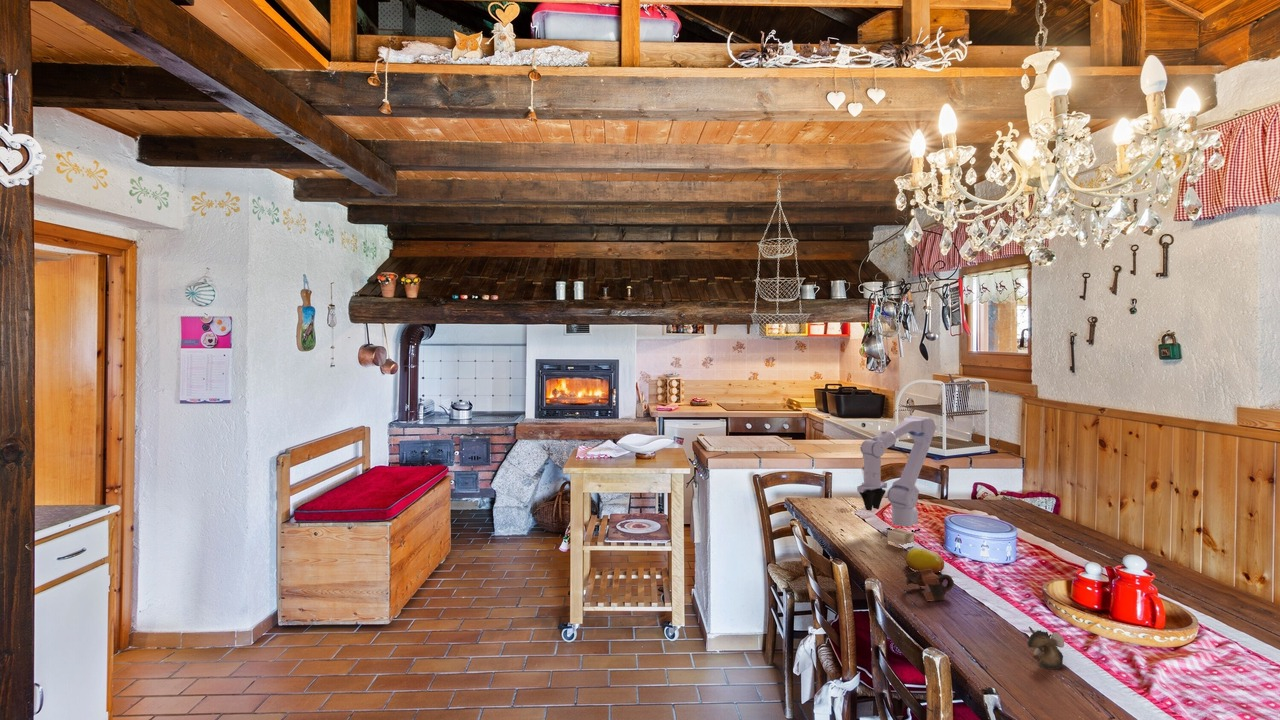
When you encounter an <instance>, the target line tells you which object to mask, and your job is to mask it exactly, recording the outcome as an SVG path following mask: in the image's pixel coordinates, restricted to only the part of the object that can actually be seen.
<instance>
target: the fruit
mask: <svg viewBox="0 0 1280 720" xmlns="http://www.w3.org/2000/svg"><path fill="white" fill-rule="evenodd" d="M905 563H906V565H908V566H909V567H910V568H912V569H914V570H918V571H921V570H926V569H932V571H933V573H937V574H939V573H938V572H939V571H941V572H942V571H943V570H944V568H945V561H944V559H943V557H942V555H940V554H939V553H938V552H936V551H934V550H930V549H927V548H921V547H919V548H916V547H915V548H912V549H910V550H909V551H908V552H907V554H906V557H905ZM908 566H907V567H908Z"/></svg>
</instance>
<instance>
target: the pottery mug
mask: <svg viewBox="0 0 1280 720" xmlns="http://www.w3.org/2000/svg"><path fill="white" fill-rule="evenodd" d="M905 578H906V580H905V583H906V585H907V586H909V585H910V584H912V585H917V586H918V585H919V586H926V585H927V586H928V588H929V589H930V591H929V592H924V593H923V597H924V598H925V600H926V599H927V600H932V601H931V602H934V601H935V602H936V601H939V600H940V601H944V600H945V594H947V592H949V591H951V590H952V589H953V587H954V583H955V581H954V580H953V577H952V576H950V575H949V574H946V573H945V574H934V573H933V571H932V569H926V570H921V571H916V572H912V571H911V572H909V573H907V574H905ZM944 581H947V583H946V586H944V585H943V583H944ZM919 586H918V587H919ZM927 586H926V587H927ZM943 599H944V600H943Z"/></svg>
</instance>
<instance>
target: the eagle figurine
mask: <svg viewBox="0 0 1280 720" xmlns="http://www.w3.org/2000/svg"><path fill="white" fill-rule="evenodd" d="M1028 629H1029V630H1030V632H1031V633H1032V634H1030V636H1029V638H1028V641H1027V646H1028V647H1027V648H1034V651H1033V654H1032V656H1038V655H1039V654H1042V653H1043V654H1042V656H1041V658H1040V659H1039V661H1038V662H1037V664H1038V665H1039V666H1040V667H1042V668H1043V669H1045V670H1052V671H1053V670H1059V669H1061V668H1062V667H1063V661H1064V660H1063V659H1064V655H1063V653H1062V651H1061V650H1060V649H1059V648H1064V647H1065V638H1064V637H1063V636H1062V634H1060V633H1058V632H1055V631H1054V632H1052V633H1051V634H1049V632H1048V631H1042V630H1036V631H1035V630H1033V628H1032V627H1031V626H1028Z"/></svg>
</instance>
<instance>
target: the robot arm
mask: <svg viewBox="0 0 1280 720" xmlns="http://www.w3.org/2000/svg"><path fill="white" fill-rule="evenodd" d="M936 429H937V426H936V423H935V420H934V419H933V418H932V417H924V416H916V415H913V414H912V415H911V414H910V415H907V416H906V417H904V418H903V420H902V422H900V423H899V424H897V425H896V426H894V428H892V429H891V430H886V429H883V430H881V433H879V434H877V435H876V436H873V437H872V438H871V439H866V440H864V441H862V443H861V445H860V452H861V454H862V458H863V461H864V462H863V482H862V483H861V484H860V485H858V486H856V491H857V493H859V495H860V497H861V498H862V501H863V504H864V509H865V510H867V511H871V512H872V509H875V510H880V506H881V504H882V503H881V502H882V499H883V498H884V495H885V494H886V493H887V494H886V497H887V500H888V502H889V504H890V506H891V524H892V523H893V524H895V525H900V526H912V525H913V524H916V523H918V524H919V512H918V509H917V508H916V506H917V504H918V501H919V494H920V490H919V489H918V487H917V485H916V483H917V481H918V478H919V475H920V472H921V470H922V468H923V464H924V462H925V460H926V456H927V455H928V451H929V449H930V447H931V443H932V440H933V437H934V436H935V435H934V434H935V432H936ZM906 434H908V435H909V437H910V438H911V439H912V440H913V442H914V443H913V445H912V448H911V450H910V452H909V456H908V457H907V460H906V463H905V466H904V467H903V471H902V473H901V476H900V478H899V479H896V480H895V481H893V482H892V485H891V486H890V487H889V488H888V482H885V481H882V480H881V478H882V477H881V476H882V473H881V472H882V465H881V464H882V463H881V462H882V461H881V459H882V458H881V457H882V456H883V455H884V453H885V451H886V450H887V449H888V448H890V447H891V446H893V445H895V444H896V442H897V439H899V438H901V437H902V436H904V435H906ZM887 488H888V490H887V492H886V489H887Z"/></svg>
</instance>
